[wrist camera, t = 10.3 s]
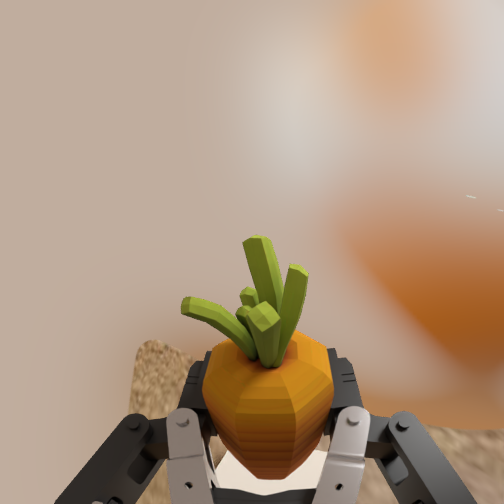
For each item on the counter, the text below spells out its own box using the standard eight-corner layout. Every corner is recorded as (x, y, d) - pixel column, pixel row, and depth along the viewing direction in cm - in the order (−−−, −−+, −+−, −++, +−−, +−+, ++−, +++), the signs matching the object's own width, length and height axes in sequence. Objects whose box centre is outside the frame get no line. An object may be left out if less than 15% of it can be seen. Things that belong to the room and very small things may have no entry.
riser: (351, 471, 21) (359, 457, 19) (313, 568, 11) (319, 568, 9) (243, 446, 25) (240, 429, 24) (190, 529, 15) (178, 522, 14)
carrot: (293, 515, 10) (330, 322, 5) (218, 487, 13) (132, 275, 7) (323, 454, 14) (363, 231, 9) (255, 434, 17) (230, 219, 11)
